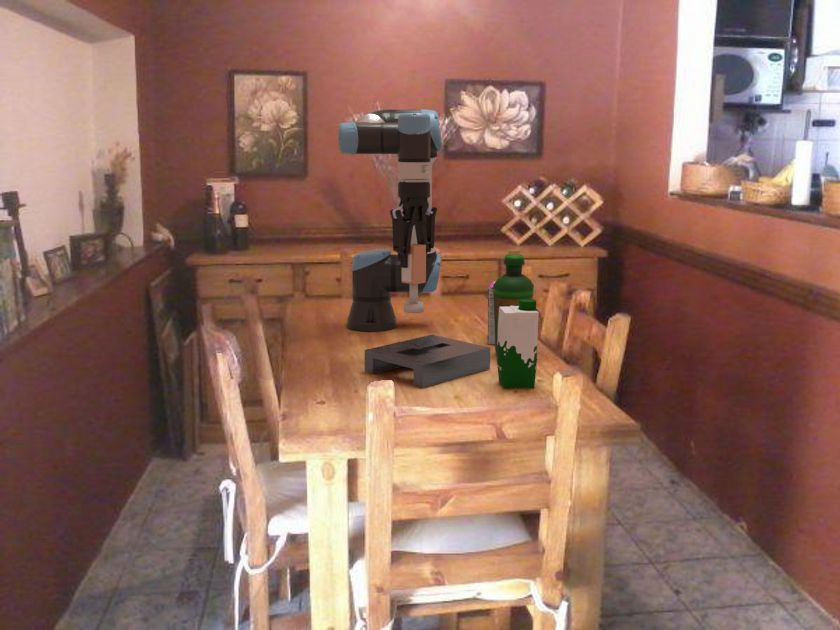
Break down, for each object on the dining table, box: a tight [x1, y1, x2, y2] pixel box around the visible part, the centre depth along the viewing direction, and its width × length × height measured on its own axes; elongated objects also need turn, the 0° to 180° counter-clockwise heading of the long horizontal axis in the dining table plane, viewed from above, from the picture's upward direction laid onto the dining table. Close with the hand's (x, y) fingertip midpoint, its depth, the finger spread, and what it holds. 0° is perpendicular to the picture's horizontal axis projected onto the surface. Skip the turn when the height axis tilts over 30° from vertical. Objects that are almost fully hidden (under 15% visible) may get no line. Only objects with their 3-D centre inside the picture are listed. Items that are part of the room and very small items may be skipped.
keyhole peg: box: [402, 244, 426, 314], centre depth 200 cm, size 5×5×16 cm
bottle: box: [493, 249, 535, 355], centre depth 221 cm, size 11×11×28 cm
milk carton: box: [496, 298, 540, 389], centre depth 195 cm, size 9×9×20 cm
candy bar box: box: [487, 280, 496, 346], centre depth 238 cm, size 11×5×16 cm, turn 168°
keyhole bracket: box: [364, 334, 491, 389], centre depth 208 cm, size 20×24×6 cm
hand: (413, 279), depth 200 cm, fingers closed on keyhole peg, 4 cm apart
